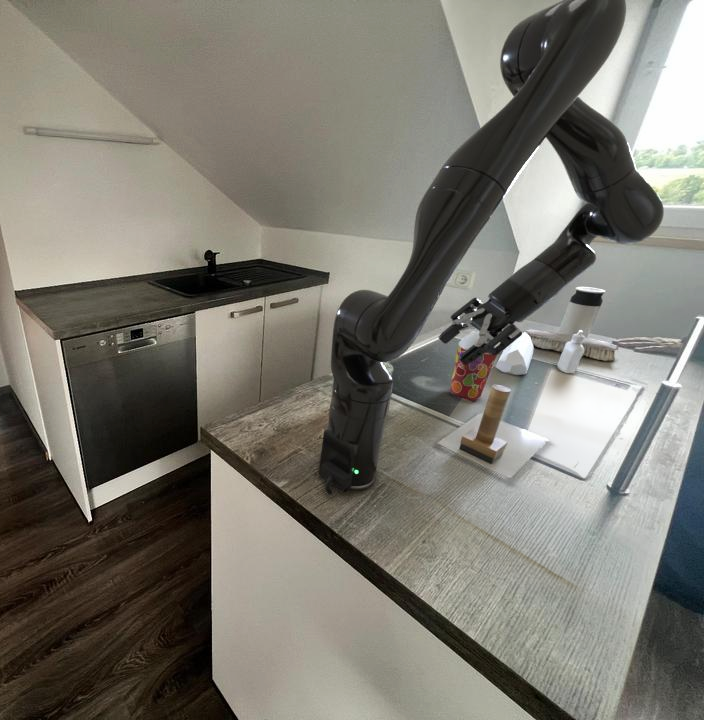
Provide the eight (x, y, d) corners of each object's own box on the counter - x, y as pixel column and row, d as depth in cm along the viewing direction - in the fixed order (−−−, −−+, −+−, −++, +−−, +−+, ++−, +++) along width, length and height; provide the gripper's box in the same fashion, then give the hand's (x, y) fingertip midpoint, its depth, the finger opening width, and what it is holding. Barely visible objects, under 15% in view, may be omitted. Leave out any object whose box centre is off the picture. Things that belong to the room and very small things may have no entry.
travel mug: (592, 344, 132) (613, 292, 125) (568, 343, 132) (588, 291, 125) (573, 336, 139) (592, 286, 132) (550, 335, 139) (568, 286, 132)
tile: (508, 483, 69) (510, 478, 68) (435, 447, 78) (436, 443, 78) (547, 443, 79) (549, 439, 79) (479, 416, 89) (480, 412, 89)
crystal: (502, 335, 128) (489, 357, 111) (528, 329, 122) (519, 351, 106) (509, 356, 128) (498, 381, 111) (536, 351, 123) (528, 376, 106)
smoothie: (480, 392, 99) (504, 318, 91) (485, 407, 93) (511, 328, 85) (444, 386, 103) (463, 313, 95) (446, 400, 96) (467, 323, 88)
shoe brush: (612, 356, 122) (619, 341, 120) (615, 364, 117) (622, 348, 115) (519, 339, 136) (524, 326, 134) (518, 345, 130) (523, 331, 128)
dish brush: (491, 465, 72) (515, 398, 66) (458, 449, 76) (477, 385, 70) (502, 455, 74) (526, 390, 69) (469, 440, 79) (489, 378, 73)
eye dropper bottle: (554, 370, 112) (569, 331, 107) (557, 364, 116) (572, 326, 111) (573, 375, 109) (589, 335, 105) (576, 369, 113) (592, 330, 108)
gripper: (492, 267, 76) (424, 325, 83) (540, 293, 64) (456, 359, 71) (513, 289, 79) (446, 344, 85) (565, 318, 66) (481, 380, 73)
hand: (451, 350), depth 78 cm, fingers open, 8 cm apart
